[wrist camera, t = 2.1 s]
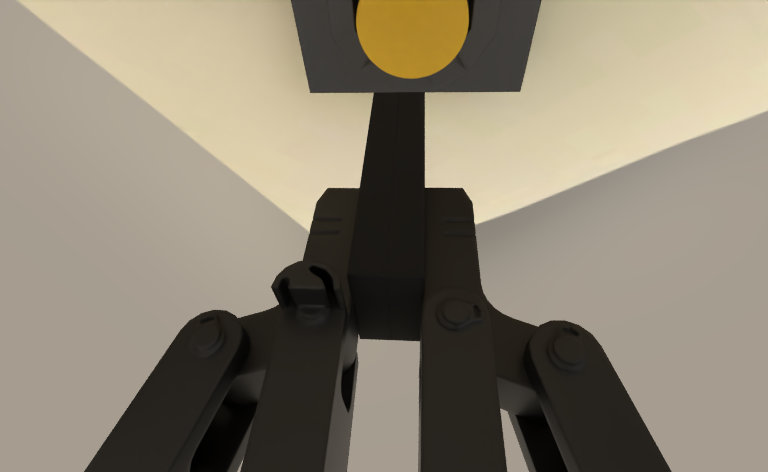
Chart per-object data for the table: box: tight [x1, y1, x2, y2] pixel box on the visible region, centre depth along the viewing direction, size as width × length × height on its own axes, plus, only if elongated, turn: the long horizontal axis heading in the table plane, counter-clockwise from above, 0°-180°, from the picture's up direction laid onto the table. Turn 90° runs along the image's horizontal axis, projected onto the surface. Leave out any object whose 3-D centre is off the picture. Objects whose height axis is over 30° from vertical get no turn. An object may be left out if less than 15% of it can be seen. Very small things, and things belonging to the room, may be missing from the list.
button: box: [356, 0, 469, 79], centre depth 18 cm, size 5×5×2 cm
